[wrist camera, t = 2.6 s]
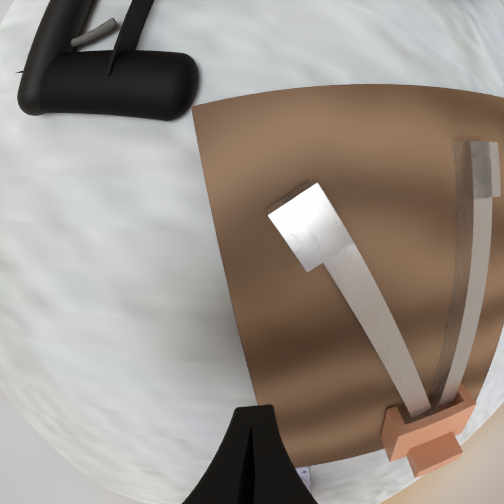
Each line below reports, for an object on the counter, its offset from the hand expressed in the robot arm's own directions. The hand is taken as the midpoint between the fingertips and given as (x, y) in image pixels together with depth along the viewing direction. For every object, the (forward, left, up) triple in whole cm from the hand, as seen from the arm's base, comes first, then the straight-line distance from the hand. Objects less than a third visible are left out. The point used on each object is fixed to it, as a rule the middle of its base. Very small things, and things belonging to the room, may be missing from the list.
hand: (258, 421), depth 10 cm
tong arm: (-1, -6, -6) cm, 9 cm away
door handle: (+22, +2, -9) cm, 24 cm away
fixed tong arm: (-2, -13, -6) cm, 15 cm away
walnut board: (-2, -9, -8) cm, 12 cm away
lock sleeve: (-11, -12, -6) cm, 17 cm away
